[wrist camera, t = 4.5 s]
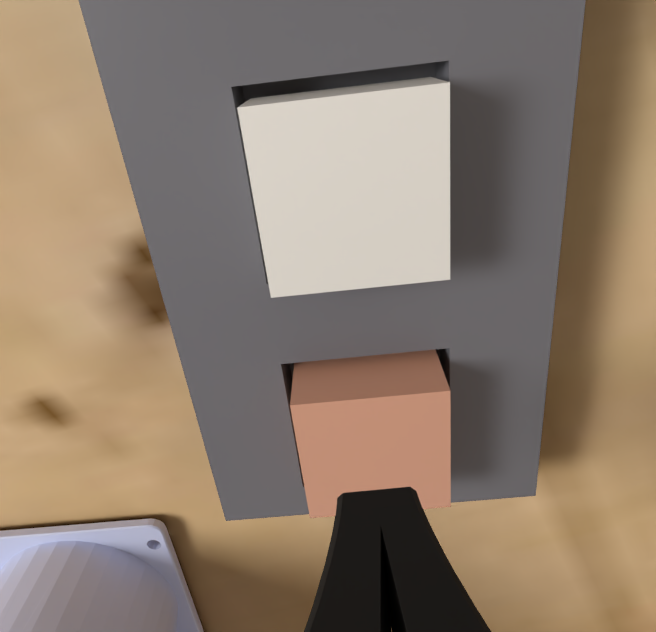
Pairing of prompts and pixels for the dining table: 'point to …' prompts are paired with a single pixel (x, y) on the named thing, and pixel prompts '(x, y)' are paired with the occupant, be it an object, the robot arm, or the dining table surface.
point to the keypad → (358, 304)
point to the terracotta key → (373, 427)
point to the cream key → (351, 185)
